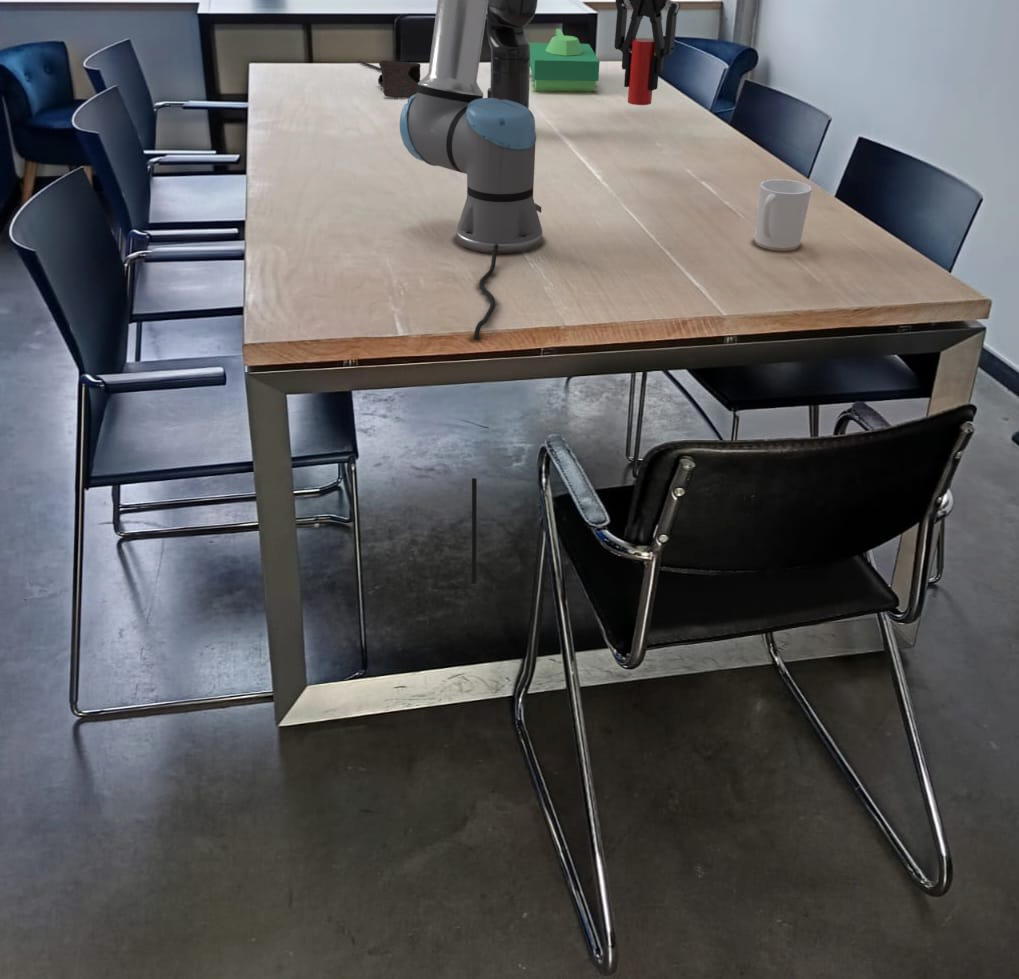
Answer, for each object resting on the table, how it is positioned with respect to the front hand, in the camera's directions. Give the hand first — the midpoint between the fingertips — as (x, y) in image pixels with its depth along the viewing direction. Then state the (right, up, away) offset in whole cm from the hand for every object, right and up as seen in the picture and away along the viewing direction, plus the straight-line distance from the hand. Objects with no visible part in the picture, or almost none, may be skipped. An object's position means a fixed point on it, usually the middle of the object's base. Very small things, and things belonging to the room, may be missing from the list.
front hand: (640, 87), depth 231 cm
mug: (+20, -41, -35) cm, 57 cm away
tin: (0, -3, +2) cm, 3 cm away
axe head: (-57, +24, +69) cm, 93 cm away
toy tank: (-13, +33, +85) cm, 93 cm away
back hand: (-2, +39, +40) cm, 56 cm away
